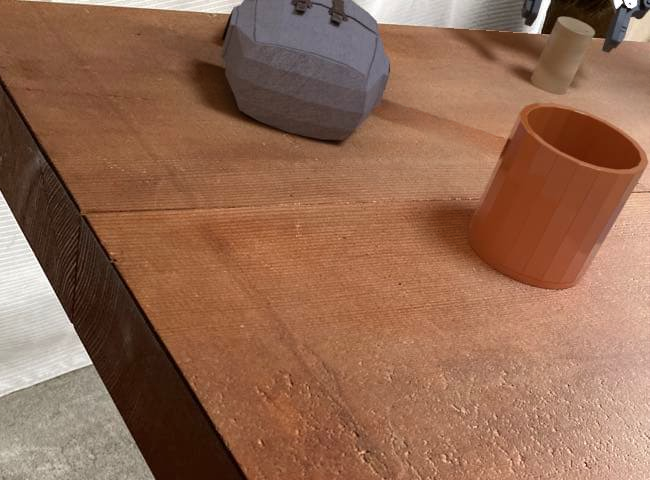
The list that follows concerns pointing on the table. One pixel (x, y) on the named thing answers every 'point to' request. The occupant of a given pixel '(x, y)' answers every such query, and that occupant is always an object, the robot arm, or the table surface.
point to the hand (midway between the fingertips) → (569, 35)
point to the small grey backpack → (305, 64)
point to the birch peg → (562, 55)
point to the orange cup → (554, 195)
